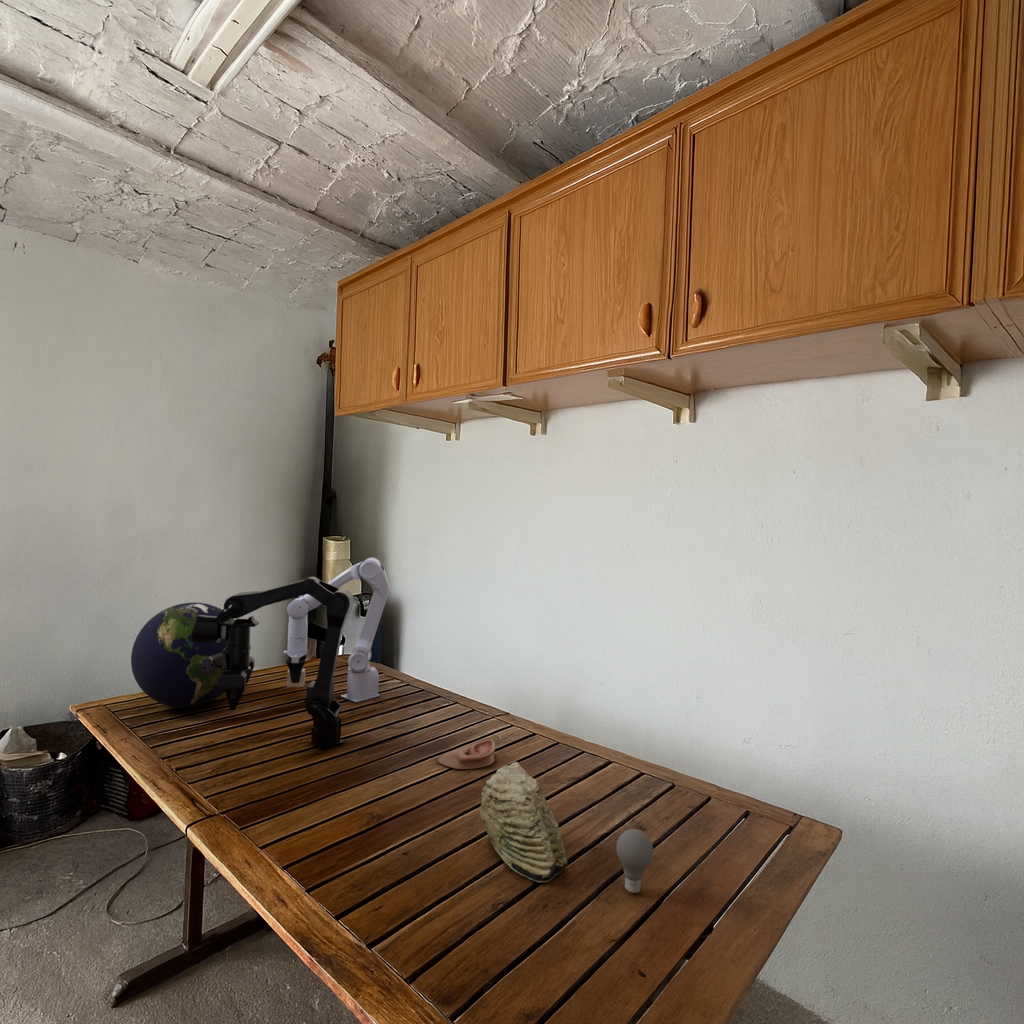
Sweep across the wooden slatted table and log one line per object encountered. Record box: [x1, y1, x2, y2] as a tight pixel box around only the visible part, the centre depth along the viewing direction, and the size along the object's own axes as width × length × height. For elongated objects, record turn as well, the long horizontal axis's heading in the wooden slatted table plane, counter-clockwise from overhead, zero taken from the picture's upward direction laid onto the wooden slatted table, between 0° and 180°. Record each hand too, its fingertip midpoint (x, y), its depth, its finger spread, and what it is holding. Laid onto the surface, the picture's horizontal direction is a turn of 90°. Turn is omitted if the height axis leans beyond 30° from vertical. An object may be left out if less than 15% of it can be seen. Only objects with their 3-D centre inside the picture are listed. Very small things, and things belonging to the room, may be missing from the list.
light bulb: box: [615, 828, 654, 894], centre depth 106 cm, size 6×6×10 cm
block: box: [286, 667, 306, 688], centre depth 197 cm, size 4×5×5 cm
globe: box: [130, 601, 236, 708], centre depth 186 cm, size 30×30×30 cm
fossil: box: [479, 761, 569, 883], centre depth 114 cm, size 9×18×15 cm, turn 46°
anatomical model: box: [437, 739, 496, 770], centre depth 155 cm, size 13×4×12 cm
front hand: (235, 704), depth 160 cm, fingers open, 9 cm apart
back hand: (296, 680), depth 198 cm, fingers closed on block, 4 cm apart
